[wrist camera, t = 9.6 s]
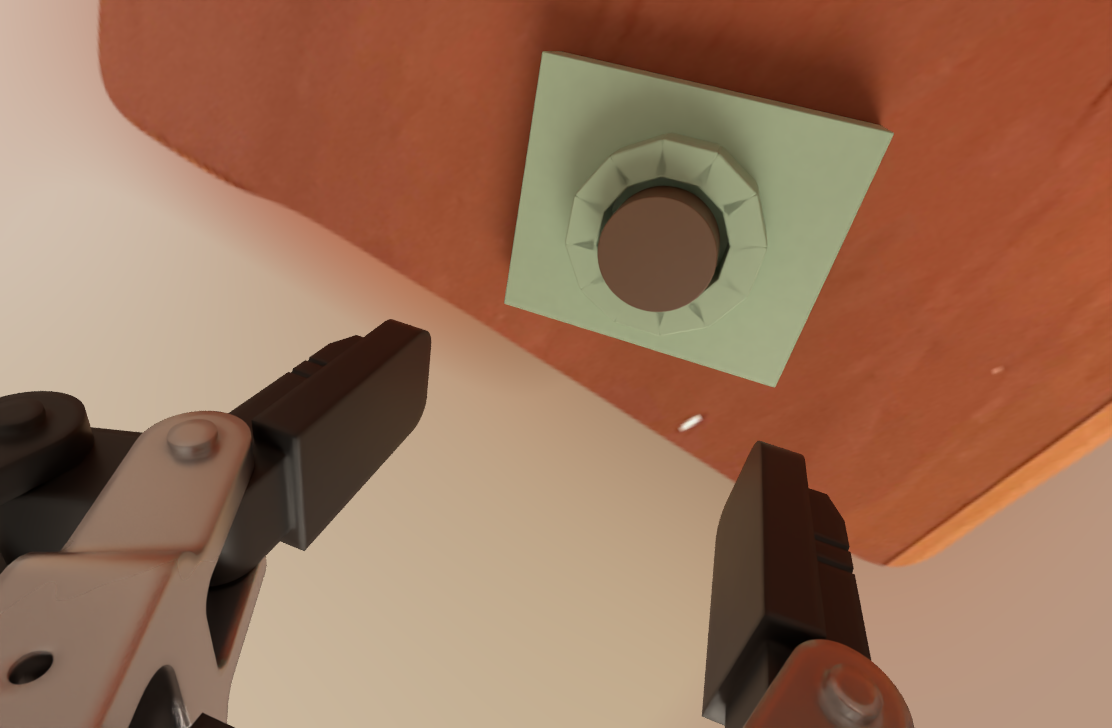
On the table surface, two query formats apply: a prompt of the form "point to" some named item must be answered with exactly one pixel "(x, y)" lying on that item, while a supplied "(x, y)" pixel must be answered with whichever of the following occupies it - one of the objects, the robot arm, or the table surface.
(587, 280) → the doorbell
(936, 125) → the table surface
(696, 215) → the bell button
